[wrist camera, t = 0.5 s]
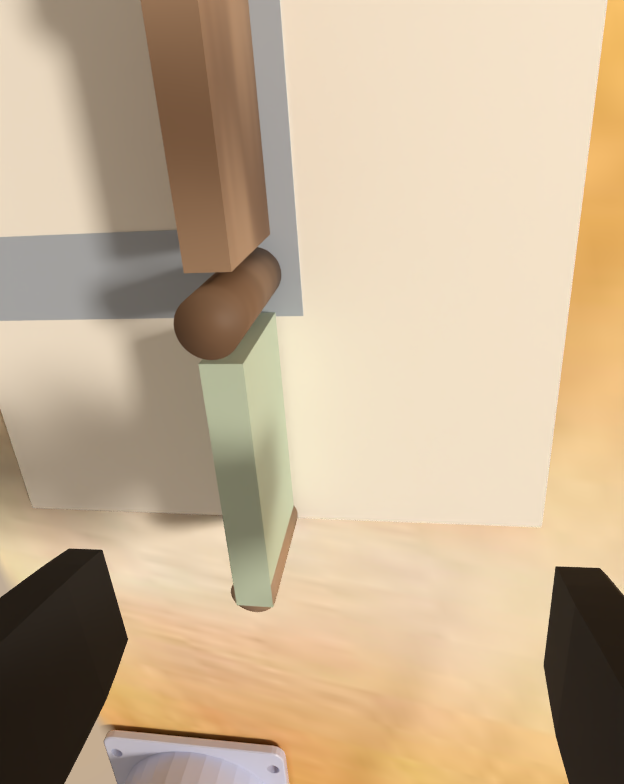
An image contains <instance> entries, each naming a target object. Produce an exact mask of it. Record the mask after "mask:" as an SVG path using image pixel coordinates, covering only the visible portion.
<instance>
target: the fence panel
mask: <svg viewBox="0 0 624 784" xmlns="http://www.w3.org/2000/svg"><path fill="white" fill-rule="evenodd" d="M198 365H199V371H200V378H201V384H202V390H203V396H204V403H205V409H206V415H207V422H208V428H209V434H210V440H211V447H212V453H213V459H214V465H215V472H216V478H217V484H218V491H219V497H220V503H221V509H222V516H223V522H224V528H225V535H226V541H227V547H228V553H229V560H230V566H231V572H232V578H233V585H232V588H231V594H232V597H233V599H234V601H235V602H236V604H237V605H239V606H240V607H242V608H244V609H246V610H249V611H253V612H262V611H266V610H268V609H270V608H271V607H274V603H275V600H276V596H277V593H278V589H279V585H280V581H281V578H282V574H283V570H284V566H285V563H286V559H287V555H288V551H289V548H290V544H291V540H292V536H293V532H294V529H295V525H296V521H297V517H298V513H297V509H296V508H295V506H294V503H293V492H292V482H291V471H290V461H289V450H288V440H287V429H286V419H285V408H284V398H283V387H282V377H281V366H280V356H279V346H278V335H277V325H276V314H275V312H267V313H260V314H259V316H258V317H257V319H256V320H255V321H254V323H253V324H252V326H251V327H250V329H249V330H248V332H247V333H246V334H245V336H244V337H243V339H242V340H241V342H240V343H239V344H238V346H237V347H236V349H235V350H234V351H233V352H232V353H231V354H230V355H228V356H226V357H224V358H222V359H218V360H205V359H202V360H201V361H200V363H199V364H198Z"/></svg>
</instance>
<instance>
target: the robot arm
mask: <svg viewBox="0 0 624 784" xmlns="http://www.w3.org/2000/svg"><path fill="white" fill-rule="evenodd" d="M127 641H128V638H127V634H126V631H125V627H124V624H123V620H122V617H121V613H120V610H119V606H118V603H117V599H116V596H115V592H114V589H113V585H112V582H111V579H110V575H109V572H108V568H107V565H106V561H105V558H104V554H103V551H102V550H91V549H68V550H66V551H65V552H63V553H62V554H60V555H59V556H57V557H56V558H54V559H53V560H51V561H50V562H48V563H47V564H46V565H44V566H43V567H41V568H40V569H39V570H37V571H36V572H34V573H33V574H32V575H30V576H29V577H28V578H26V579H25V580H23V581H22V582H21V583H19V584H18V585H17V586H15V587H14V588H13V589H11V590H10V591H9V592H7V593H6V594H5V595H3V596H2V597H1V598H0V784H64V783H65V781H66V779H67V777H68V775H69V773H70V771H71V769H72V767H73V765H74V763H75V762H76V760H77V758H78V756H79V754H80V752H81V750H82V748H83V746H84V744H85V742H86V740H87V738H88V736H89V734H90V732H91V730H92V727H93V726H94V723H95V722H96V720H97V718H98V716H99V714H100V711H101V709H102V707H103V705H104V703H105V701H106V699H107V696H108V694H109V691H110V688H111V686H112V683H113V680H114V678H115V675H116V673H117V670H118V667H119V664H120V661H121V658H122V655H123V652H124V649H125V646H126V644H127ZM544 670H545V676H546V682H547V688H548V694H549V700H550V706H551V712H552V717H553V723H554V728H555V734H556V738H557V742H558V746H559V749H560V753H561V757H562V760H563V764H564V767H565V771H566V774H567V778H568V781H569V784H624V595H623V594H622V593H621V592H620V590H619V589H618V588H617V587H616V586H615V584H614V583H613V582H612V581H611V580H610V578H609V577H608V576H607V575H606V574H605V573H604V572H603V571H602V570H601V569H600V568H582V567H556V568H555V576H554V585H553V593H552V601H551V609H550V617H549V625H548V634H547V642H546V650H545V658H544ZM104 744H105V747H106V751H107V754H108V757H109V760H110V763H111V766H112V769H113V772H114V775H115V778H116V781H117V784H289V778H288V770H287V763H286V755H285V753H284V751H283V750H282V749H281V748H279V747H277V746H273V745H262V744H252V743H242V742H232V741H222V740H212V739H202V738H192V737H182V736H172V735H162V734H152V733H142V732H132V731H122V730H111V731H109V732H108V733H107V735H106V737H105V739H104Z"/></svg>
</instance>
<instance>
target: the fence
mask: <svg viewBox="0 0 624 784" xmlns="http://www.w3.org/2000/svg"><path fill="white" fill-rule="evenodd" d="M140 1H141V7H142V14H143V20H144V26H145V32H146V39H147V45H148V51H149V58H150V64H151V70H152V76H153V83H154V89H155V95H156V101H157V108H158V114H159V120H160V127H161V133H162V139H163V145H164V152H165V158H166V164H167V171H168V177H169V183H170V189H171V196H172V202H173V208H174V214H175V221H176V227H177V233H178V240H179V246H180V252H181V258H182V265H183V271H184V273H212V272H215V273H214V274H213V275H212V276H211V277H210V278H209V279H207V280H206V281H205V282H204V283H203V284H202V285H201V286H200V287H199V288H197V289H196V290H195V291H194V292H193V293H192V294H191V295H190V296H188V297H187V298H186V299H185V300H184V301H183V302H182V303H181V304H180V305H179V307H178V308H177V310H176V312H175V315H174V331H175V334H176V337H177V339H178V341H179V342H180V344H181V345H182V346H183V347H184V348H185V349H186V350H187V351H188V352H189V353H191V354H192V355H194V356H196V357H198V358H201V359H205V360H218V359H222V358H224V357H226V356H228V355H230V354H231V353H232V352H233V351H234V350H235V349H236V347H237V346H238V344H239V343H240V342H241V340H242V339H243V337H244V336H245V334H246V333H247V332H248V330H249V329H250V327H251V326H252V324H253V323H254V321H255V320H256V319H257V317H258V316H259V314H260V313H261V311H262V310H263V308H264V307H265V306H266V304H267V303H268V301H269V300H270V298H271V297H272V296H273V294H274V293H275V291H276V290H277V288H278V287H279V284H280V281H281V268H280V265H279V263H278V261H277V259H276V258H275V257H274V256H273V255H272V254H271V253H270V252H269V251H267V250H265V249H263V248H260V247H258V246H259V245H260V244H261V243H262V242H263V241H264V240H265V239H266V238H267V237H268V236H269V235H270V227H269V216H268V205H267V195H266V184H265V173H264V163H263V152H262V141H261V131H260V120H259V109H258V99H257V88H256V77H255V67H254V56H253V45H252V35H251V24H250V13H249V3H248V0H140Z"/></svg>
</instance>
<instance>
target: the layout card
mask: <svg viewBox="0 0 624 784" xmlns="http://www.w3.org/2000/svg"><path fill="white" fill-rule="evenodd" d="M248 3H249V13H250V24H251V35H252V45H253V56H254V67H255V77H256V88H257V99H258V109H259V120H260V131H261V141H262V152H263V163H264V173H265V184H266V195H267V205H268V216H269V227H270V235H269V236H268V237H267V238H266V239H265V240H264V241H263V242H262V243H261V244H260V245H259V246H258V247H260V248H263V249H265V250H267V251H269V252H270V253H271V254H272V255H273V256H274V257H275V258H276V259H277V261H278V263H279V265H280V268H281V281H280V284H279V287H278V288H277V290H276V291H275V293H274V294H273V296H272V297H271V298H270V300H269V301H268V303H267V304H266V306H265V307H264V308H263V310H262V311H261V313H267V312H275V314H276V325H277V335H278V346H279V356H280V366H281V377H282V387H283V398H284V408H285V419H286V429H287V440H288V450H289V461H290V471H291V482H292V492H293V503H294V506H295V508H296V509H297V513H298V517H297V518H308V519H335V520H361V521H387V522H414V523H440V524H467V525H493V526H519V527H542V521H543V513H544V505H545V497H546V489H547V481H548V473H549V465H550V457H551V449H552V441H553V433H554V425H555V417H556V409H557V401H558V393H559V385H560V377H561V369H562V361H563V353H564V345H565V337H566V329H567V321H568V313H569V305H570V297H571V289H572V281H573V273H574V265H575V257H576V248H577V240H578V232H579V224H580V216H581V208H582V200H583V192H584V184H585V176H586V168H587V160H588V152H589V144H590V136H591V128H592V120H593V112H594V104H595V96H596V88H597V80H598V72H599V64H600V56H601V48H602V40H603V32H604V24H605V16H606V8H607V0H248ZM214 273H215V272H212V273H184V271H183V265H182V258H181V252H180V246H179V240H178V233H177V227H176V221H175V214H174V208H173V202H172V196H171V189H170V183H169V177H168V171H167V164H166V158H165V152H164V145H163V139H162V133H161V127H160V120H159V114H158V108H157V101H156V95H155V89H154V83H153V76H152V70H151V64H150V58H149V51H148V45H147V39H146V32H145V26H144V20H143V14H142V7H141V1H140V0H0V409H1V413H2V416H3V419H4V422H5V425H6V428H7V431H8V434H9V437H10V440H11V443H12V446H13V449H14V452H15V456H16V459H17V462H18V465H19V468H20V471H21V474H22V477H23V480H24V483H25V486H26V489H27V492H28V496H29V499H30V502H31V505H32V508H44V509H70V510H97V511H123V512H150V513H176V514H202V515H222V509H221V503H220V497H219V491H218V484H217V478H216V472H215V465H214V459H213V453H212V447H211V440H210V434H209V428H208V422H207V415H206V409H205V403H204V396H203V390H202V384H201V378H200V371H199V365H198V364H199V363H200V361H201V360H202V359H201V358H198V357H196V356H194V355H192V354H191V353H189V352H188V351H187V350H186V349H185V348H184V347H183V346H182V345H181V344H180V342H179V341H178V339H177V337H176V334H175V331H174V315H175V312H176V310H177V308H178V307H179V305H180V304H181V303H182V302H183V301H184V300H185V299H186V298H187V297H188V296H190V295H191V294H192V293H193V292H194V291H195V290H196V289H197V288H199V287H200V286H201V285H202V284H203V283H204V282H205V281H206V280H207V279H209V278H210V277H211V276H212V275H213V274H214Z"/></svg>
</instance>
